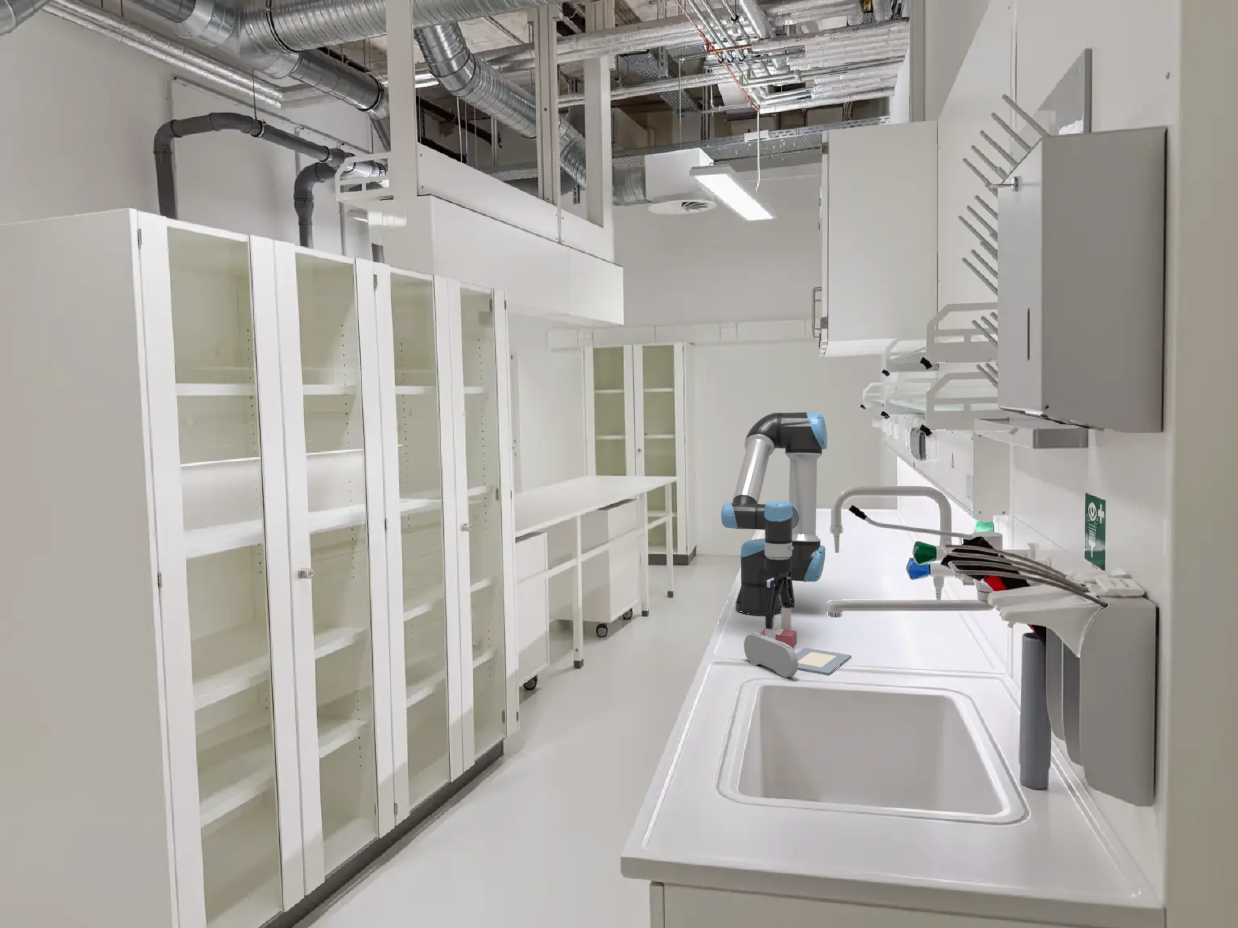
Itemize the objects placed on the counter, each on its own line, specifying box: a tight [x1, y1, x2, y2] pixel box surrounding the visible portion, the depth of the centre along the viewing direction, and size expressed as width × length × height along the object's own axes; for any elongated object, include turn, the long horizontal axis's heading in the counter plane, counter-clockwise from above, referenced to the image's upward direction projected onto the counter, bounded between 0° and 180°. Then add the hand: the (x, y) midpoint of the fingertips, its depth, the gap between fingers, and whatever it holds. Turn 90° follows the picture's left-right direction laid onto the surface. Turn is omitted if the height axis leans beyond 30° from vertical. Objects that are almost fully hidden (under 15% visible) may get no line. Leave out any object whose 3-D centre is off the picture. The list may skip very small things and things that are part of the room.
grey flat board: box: [795, 647, 852, 676], centre depth 217 cm, size 17×13×1 cm
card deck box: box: [760, 627, 798, 649], centre depth 233 cm, size 6×9×4 cm, turn 67°
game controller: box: [743, 632, 798, 678], centre depth 212 cm, size 20×2×8 cm, turn 28°
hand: (778, 635), depth 233 cm, fingers open, 10 cm apart
